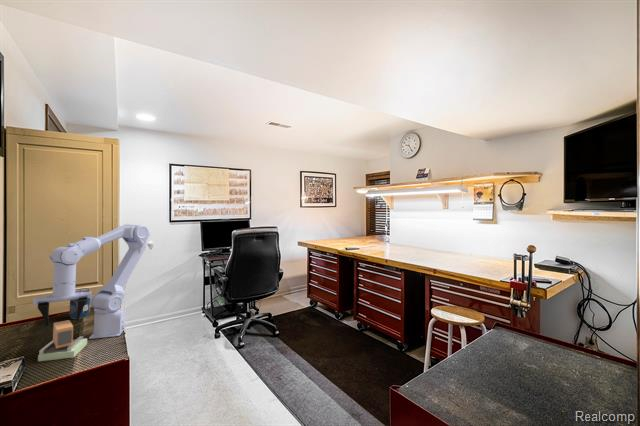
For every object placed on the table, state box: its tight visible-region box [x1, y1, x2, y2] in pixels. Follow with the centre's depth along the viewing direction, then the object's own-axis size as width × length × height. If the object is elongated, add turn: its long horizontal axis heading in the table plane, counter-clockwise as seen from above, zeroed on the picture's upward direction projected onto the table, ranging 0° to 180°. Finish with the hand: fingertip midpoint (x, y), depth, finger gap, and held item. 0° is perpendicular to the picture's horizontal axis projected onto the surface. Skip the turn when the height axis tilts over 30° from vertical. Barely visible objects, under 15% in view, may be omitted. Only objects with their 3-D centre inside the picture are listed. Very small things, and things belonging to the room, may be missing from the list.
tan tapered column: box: [52, 319, 74, 348], centre depth 94 cm, size 4×9×6 cm, turn 49°
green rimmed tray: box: [37, 335, 88, 362], centre depth 94 cm, size 9×10×3 cm
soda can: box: [69, 287, 91, 320], centre depth 125 cm, size 7×7×12 cm
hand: (62, 322), depth 95 cm, fingers open, 7 cm apart
